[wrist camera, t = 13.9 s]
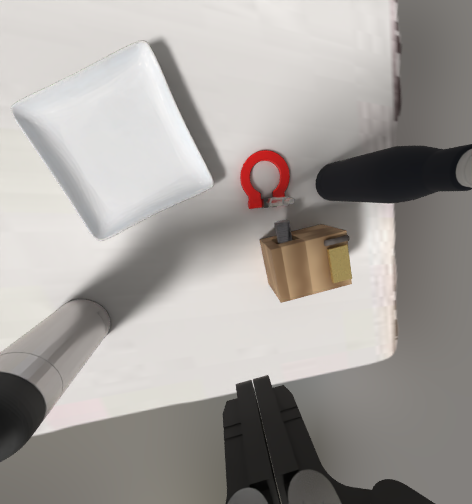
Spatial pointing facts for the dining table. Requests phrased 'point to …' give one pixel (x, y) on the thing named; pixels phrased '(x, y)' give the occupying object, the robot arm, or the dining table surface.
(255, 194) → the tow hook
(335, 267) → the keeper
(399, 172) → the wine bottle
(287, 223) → the pin
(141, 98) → the salad plate
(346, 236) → the block
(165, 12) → the dining table surface
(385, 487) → the robot arm
